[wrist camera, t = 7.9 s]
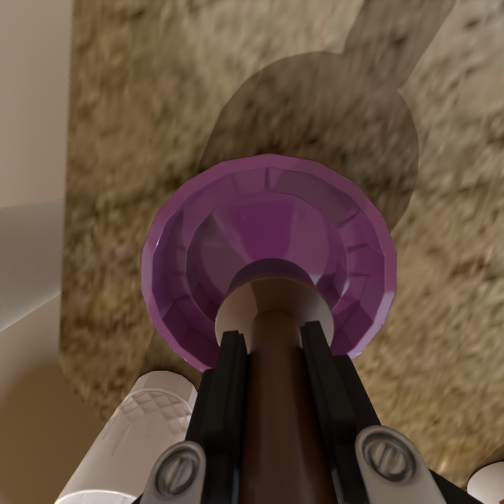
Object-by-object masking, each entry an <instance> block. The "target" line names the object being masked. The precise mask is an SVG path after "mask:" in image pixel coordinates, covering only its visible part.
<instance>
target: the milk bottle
mask: <svg viewBox="0 0 504 504" xmlns="http://www.w3.org/2000/svg"><path fill="white" fill-rule="evenodd" d="M467 491H468V494H470V495H471V496H473V497H475V498H476V499H478V500H479V501H481V502H482V503H484V504H504V462H498V463H494V464H491V465H488V466H486V467H484V468H482V469H480V470H479V471H478V472H476V473H475V474H474V475H473V476H472V477H471V479H470V480H469V482H468V485H467Z"/></svg>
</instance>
